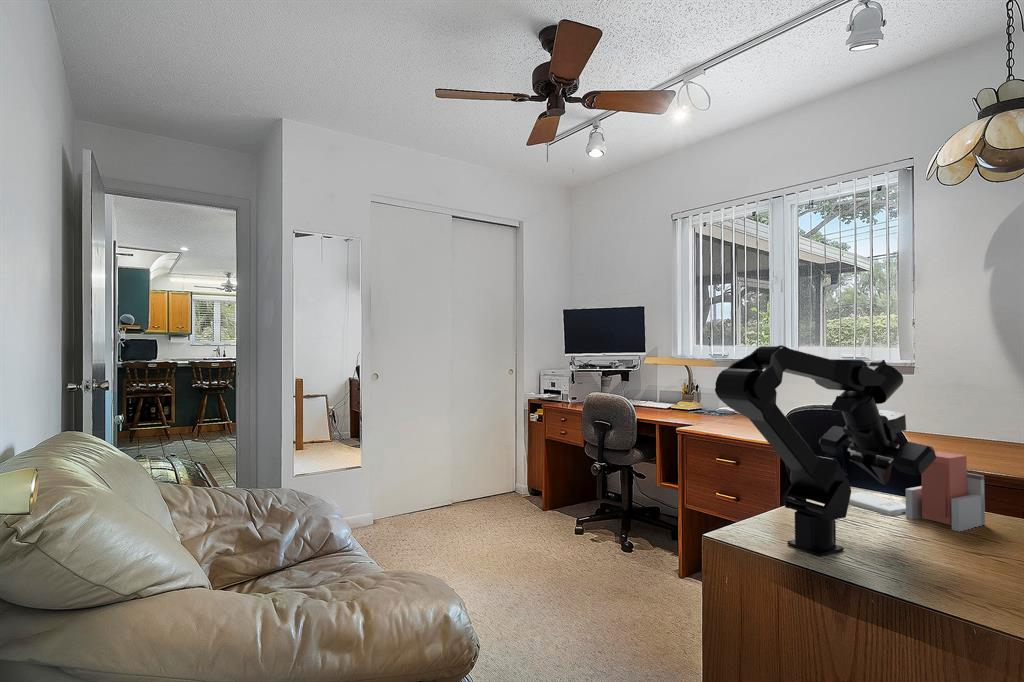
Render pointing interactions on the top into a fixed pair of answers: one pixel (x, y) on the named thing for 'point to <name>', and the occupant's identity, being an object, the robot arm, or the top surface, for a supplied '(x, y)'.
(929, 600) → the top surface
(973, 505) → the socket block
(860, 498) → the external hard drive
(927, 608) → the top surface
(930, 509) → the pink rectangular block
